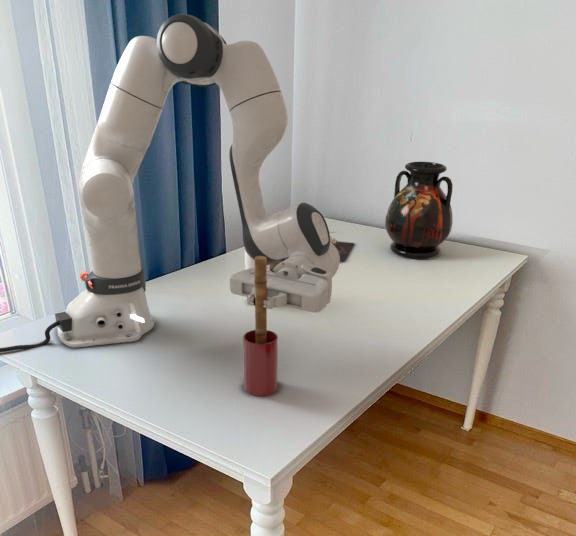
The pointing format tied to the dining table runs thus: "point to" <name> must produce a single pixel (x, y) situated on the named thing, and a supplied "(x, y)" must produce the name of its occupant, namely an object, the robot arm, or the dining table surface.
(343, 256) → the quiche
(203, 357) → the dining table surface
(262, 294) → the tan rod with ring
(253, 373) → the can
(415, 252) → the amphora vase
